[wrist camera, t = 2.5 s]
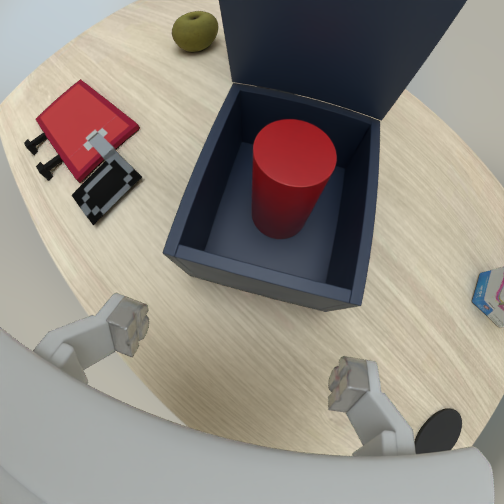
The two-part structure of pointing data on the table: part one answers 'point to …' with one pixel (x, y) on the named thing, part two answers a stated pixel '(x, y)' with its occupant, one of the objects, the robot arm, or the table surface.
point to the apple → (195, 31)
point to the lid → (334, 46)
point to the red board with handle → (88, 146)
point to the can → (289, 175)
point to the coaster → (439, 432)
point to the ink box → (491, 295)
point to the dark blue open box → (240, 207)
